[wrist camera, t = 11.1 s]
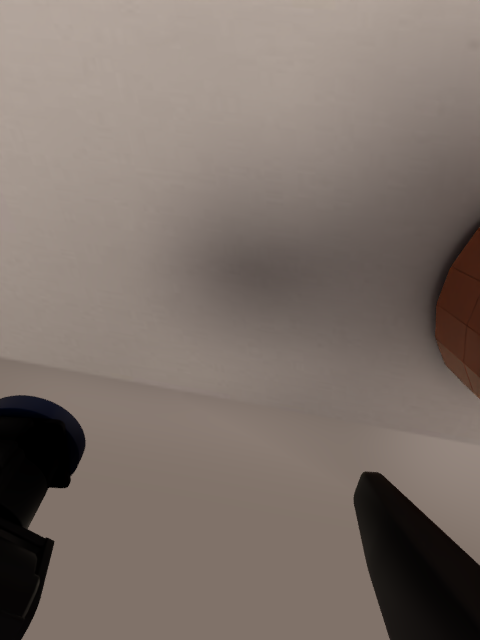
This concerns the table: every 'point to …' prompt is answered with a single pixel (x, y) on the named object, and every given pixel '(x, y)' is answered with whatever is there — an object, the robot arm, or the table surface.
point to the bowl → (461, 316)
